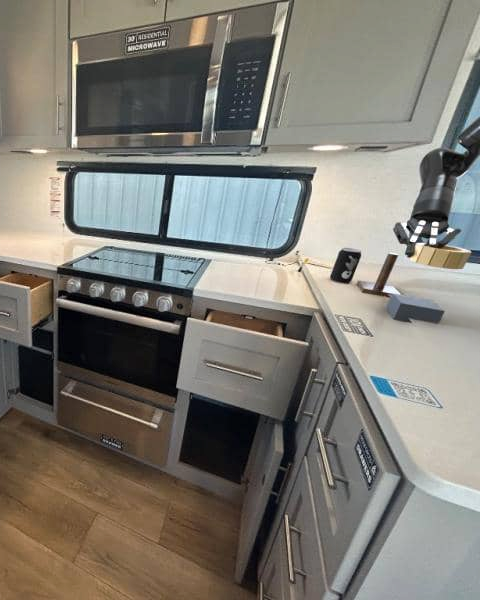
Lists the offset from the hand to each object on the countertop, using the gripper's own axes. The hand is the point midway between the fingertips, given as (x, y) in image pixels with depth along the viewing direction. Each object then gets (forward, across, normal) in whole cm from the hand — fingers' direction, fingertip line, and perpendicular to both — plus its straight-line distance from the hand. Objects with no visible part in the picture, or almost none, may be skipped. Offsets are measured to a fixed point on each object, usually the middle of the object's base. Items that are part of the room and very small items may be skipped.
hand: (417, 256), depth 88 cm
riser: (+11, +4, +14) cm, 18 cm away
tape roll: (0, +4, +2) cm, 4 cm away
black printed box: (-8, -14, +32) cm, 36 cm away
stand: (-5, -3, +29) cm, 30 cm away
